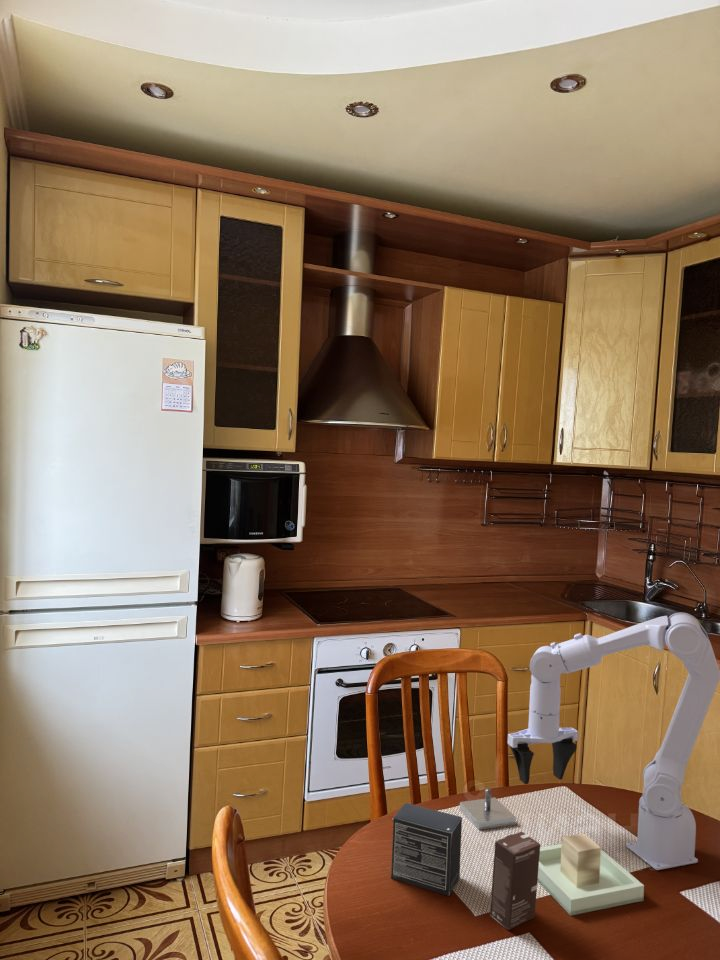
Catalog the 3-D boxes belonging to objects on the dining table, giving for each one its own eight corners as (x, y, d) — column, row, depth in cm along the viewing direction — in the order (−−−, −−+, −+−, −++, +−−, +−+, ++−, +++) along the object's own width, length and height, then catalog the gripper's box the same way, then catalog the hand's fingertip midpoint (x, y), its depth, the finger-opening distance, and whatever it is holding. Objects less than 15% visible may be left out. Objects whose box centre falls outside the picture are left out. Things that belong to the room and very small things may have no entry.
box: (510, 933, 102) (514, 854, 102) (488, 915, 106) (492, 839, 106) (538, 919, 106) (541, 842, 105) (516, 903, 109) (519, 829, 109)
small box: (461, 876, 116) (464, 815, 116) (450, 898, 110) (452, 834, 110) (403, 858, 120) (405, 800, 120) (389, 878, 115) (391, 817, 114)
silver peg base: (494, 804, 141) (495, 778, 141) (515, 824, 133) (516, 796, 133) (459, 809, 138) (460, 782, 138) (478, 830, 131) (480, 801, 131)
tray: (588, 852, 125) (589, 839, 124) (643, 900, 111) (644, 885, 111) (521, 864, 120) (522, 850, 120) (570, 915, 107) (571, 899, 107)
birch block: (582, 867, 119) (583, 833, 119) (599, 882, 115) (600, 847, 114) (560, 871, 117) (561, 837, 117) (576, 887, 113) (578, 851, 113)
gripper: (563, 700, 138) (560, 766, 139) (500, 705, 134) (497, 774, 134) (585, 712, 132) (582, 782, 132) (520, 719, 127) (516, 791, 127)
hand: (541, 779), depth 132 cm, fingers open, 7 cm apart
